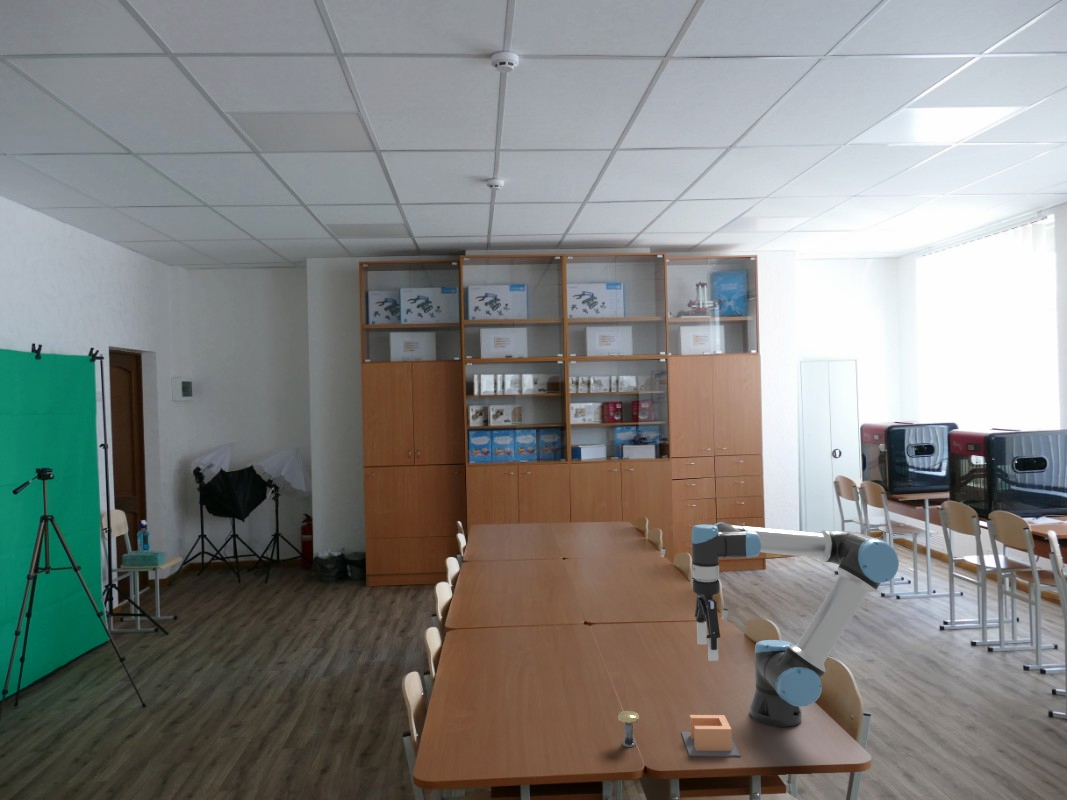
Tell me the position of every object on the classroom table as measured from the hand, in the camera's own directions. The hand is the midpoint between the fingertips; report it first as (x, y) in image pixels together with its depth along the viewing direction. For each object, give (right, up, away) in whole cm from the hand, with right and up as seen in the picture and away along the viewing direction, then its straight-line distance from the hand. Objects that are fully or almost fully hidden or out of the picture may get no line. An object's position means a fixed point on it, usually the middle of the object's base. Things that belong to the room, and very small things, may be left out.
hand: (707, 652), depth 207 cm
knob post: (-23, -26, -2) cm, 34 cm away
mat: (0, -25, -3) cm, 25 cm away
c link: (0, -25, -3) cm, 25 cm away
